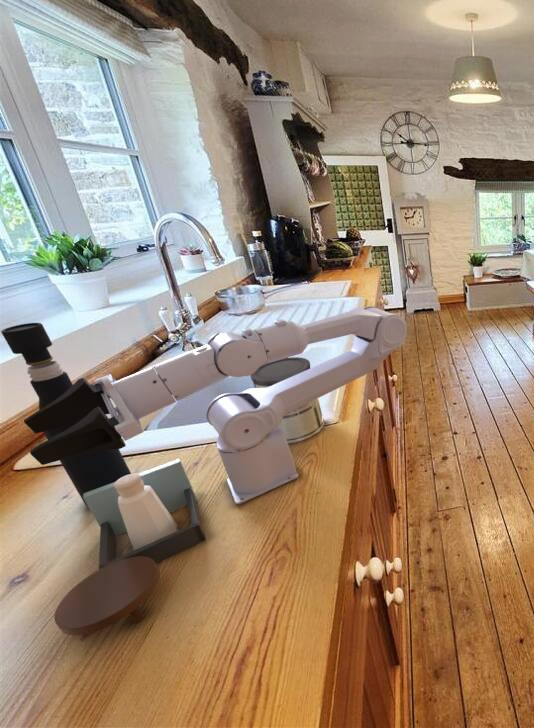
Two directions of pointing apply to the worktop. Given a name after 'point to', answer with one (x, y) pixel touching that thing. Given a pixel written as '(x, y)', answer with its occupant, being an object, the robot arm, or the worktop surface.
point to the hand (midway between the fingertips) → (32, 441)
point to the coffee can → (302, 419)
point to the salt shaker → (142, 511)
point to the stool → (108, 596)
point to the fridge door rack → (173, 494)
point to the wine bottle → (49, 386)
